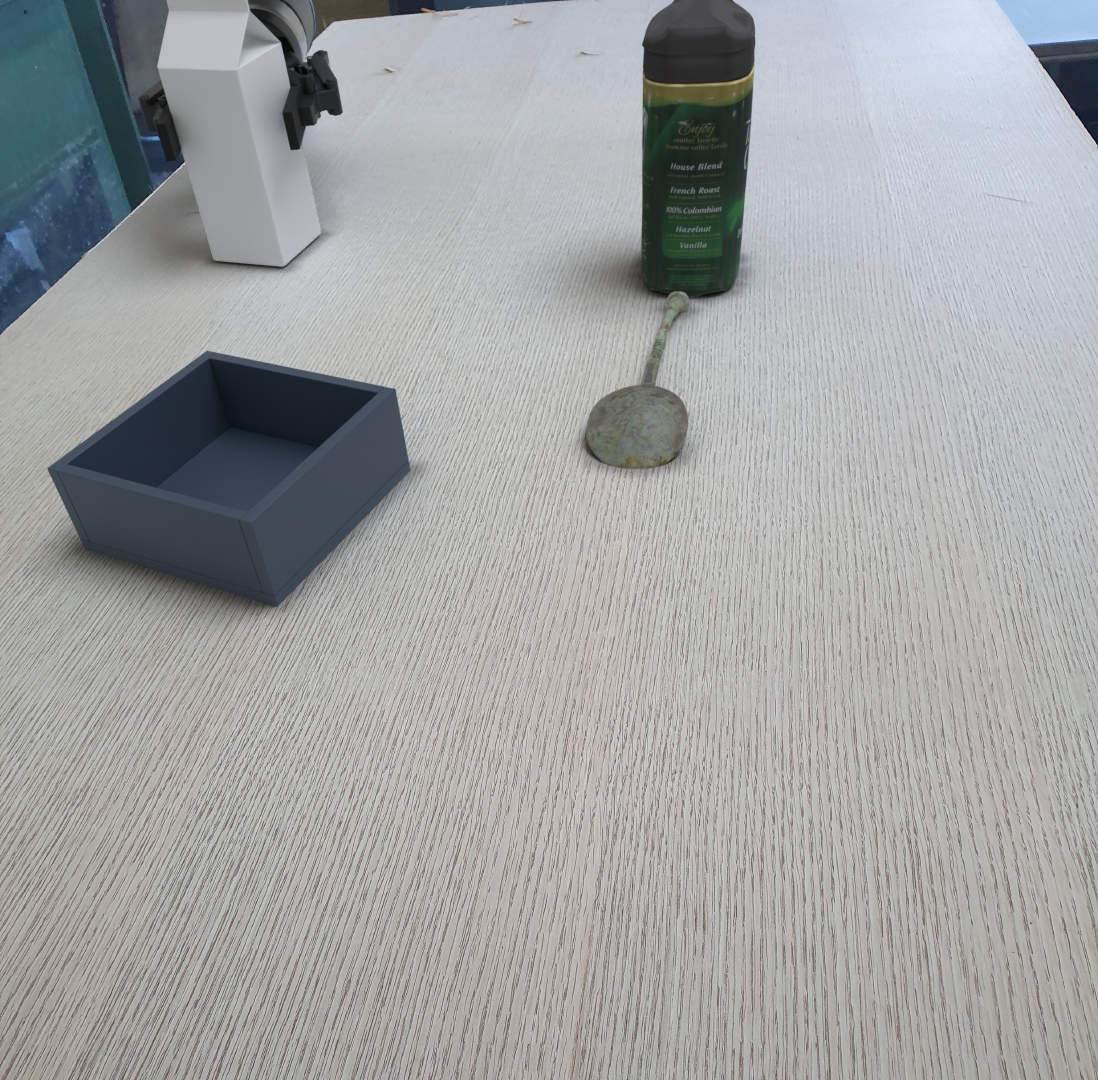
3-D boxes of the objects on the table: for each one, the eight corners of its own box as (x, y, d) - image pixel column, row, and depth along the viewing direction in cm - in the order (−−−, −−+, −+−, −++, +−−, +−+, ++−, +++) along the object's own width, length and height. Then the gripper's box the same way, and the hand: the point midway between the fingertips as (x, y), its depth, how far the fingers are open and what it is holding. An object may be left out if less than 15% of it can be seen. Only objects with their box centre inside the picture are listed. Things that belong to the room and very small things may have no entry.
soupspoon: (575, 476, 69) (676, 489, 68) (575, 431, 66) (680, 443, 65) (637, 307, 83) (722, 315, 81) (638, 264, 80) (726, 272, 79)
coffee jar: (739, 302, 82) (759, 21, 69) (637, 302, 84) (636, 25, 70) (741, 249, 89) (759, -18, 75) (646, 249, 90) (647, -13, 77)
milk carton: (284, 269, 91) (221, 7, 78) (213, 262, 93) (138, 6, 79) (322, 234, 96) (269, -18, 82) (253, 229, 98) (189, -19, 84)
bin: (86, 552, 66) (46, 468, 61) (232, 431, 74) (206, 350, 70) (278, 610, 60) (250, 522, 56) (411, 473, 69) (396, 388, 65)
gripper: (386, 88, 102) (375, 175, 87) (158, 109, 102) (106, 199, 87) (371, -5, 97) (358, 70, 81) (130, 17, 97) (71, 96, 81)
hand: (228, 136), depth 84 cm, fingers closed on milk carton, 9 cm apart
